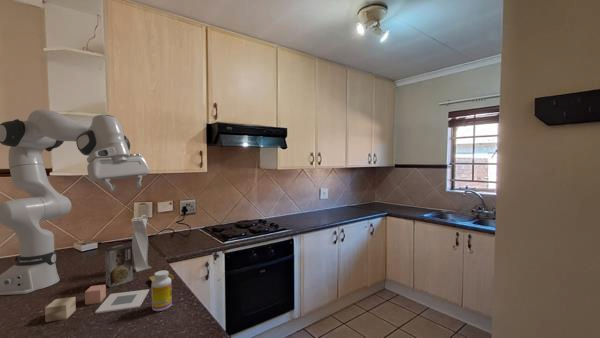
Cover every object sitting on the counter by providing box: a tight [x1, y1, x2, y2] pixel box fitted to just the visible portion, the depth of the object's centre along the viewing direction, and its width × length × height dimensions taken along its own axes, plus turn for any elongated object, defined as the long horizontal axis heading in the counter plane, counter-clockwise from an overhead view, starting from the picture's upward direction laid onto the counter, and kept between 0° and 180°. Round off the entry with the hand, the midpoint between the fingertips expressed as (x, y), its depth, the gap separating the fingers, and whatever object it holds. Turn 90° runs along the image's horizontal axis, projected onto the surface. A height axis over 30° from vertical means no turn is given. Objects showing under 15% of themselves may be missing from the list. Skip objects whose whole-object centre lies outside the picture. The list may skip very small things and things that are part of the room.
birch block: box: [44, 296, 77, 323], centre depth 95 cm, size 6×6×5 cm
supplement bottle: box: [150, 269, 173, 312], centre depth 100 cm, size 7×7×13 cm
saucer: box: [149, 271, 175, 283], centre depth 123 cm, size 9×9×2 cm
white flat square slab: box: [94, 288, 150, 315], centre depth 105 cm, size 14×14×1 cm
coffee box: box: [104, 243, 134, 288], centre depth 122 cm, size 9×6×16 cm
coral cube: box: [84, 284, 107, 306], centre depth 106 cm, size 5×5×5 cm
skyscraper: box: [131, 214, 153, 273], centre depth 137 cm, size 8×8×28 cm
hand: (126, 188), depth 101 cm, fingers open, 8 cm apart
